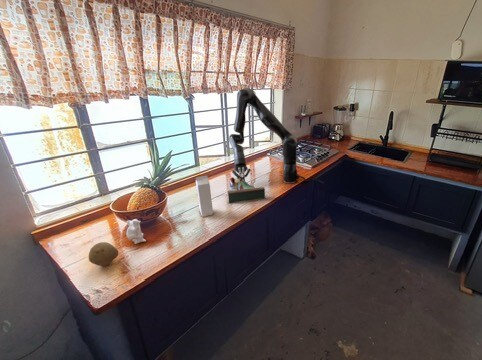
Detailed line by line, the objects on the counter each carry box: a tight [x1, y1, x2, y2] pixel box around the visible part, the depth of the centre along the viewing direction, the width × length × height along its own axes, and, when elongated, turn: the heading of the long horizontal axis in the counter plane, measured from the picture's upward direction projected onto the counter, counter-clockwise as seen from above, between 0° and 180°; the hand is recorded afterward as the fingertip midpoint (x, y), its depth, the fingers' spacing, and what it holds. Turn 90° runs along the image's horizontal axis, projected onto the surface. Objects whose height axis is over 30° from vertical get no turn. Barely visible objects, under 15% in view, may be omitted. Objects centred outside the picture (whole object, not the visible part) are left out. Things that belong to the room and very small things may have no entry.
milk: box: [195, 175, 214, 218], centre depth 131 cm, size 6×6×22 cm
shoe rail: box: [227, 186, 266, 204], centre depth 150 cm, size 22×3×7 cm, turn 107°
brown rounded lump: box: [88, 241, 119, 267], centre depth 97 cm, size 9×9×10 cm
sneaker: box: [229, 176, 256, 191], centre depth 158 cm, size 8×21×10 cm, turn 63°
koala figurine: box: [125, 218, 147, 245], centre depth 110 cm, size 8×7×12 cm
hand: (243, 182), depth 163 cm, fingers closed
